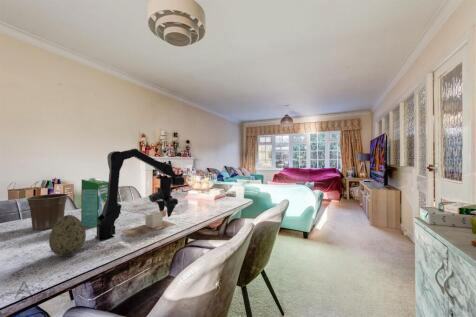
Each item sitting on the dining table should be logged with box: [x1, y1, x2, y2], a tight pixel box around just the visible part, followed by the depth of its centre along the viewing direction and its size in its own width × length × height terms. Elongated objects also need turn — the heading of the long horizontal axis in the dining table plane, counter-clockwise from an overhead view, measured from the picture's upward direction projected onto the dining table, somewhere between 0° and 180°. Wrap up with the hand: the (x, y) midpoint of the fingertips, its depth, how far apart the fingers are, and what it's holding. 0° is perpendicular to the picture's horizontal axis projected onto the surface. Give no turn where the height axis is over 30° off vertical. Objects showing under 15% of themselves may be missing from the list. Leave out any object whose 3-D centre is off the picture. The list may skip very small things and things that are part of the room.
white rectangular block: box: [144, 210, 167, 228], centre depth 114 cm, size 11×6×6 cm, turn 148°
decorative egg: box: [48, 214, 87, 257], centre depth 80 cm, size 11×11×15 cm
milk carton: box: [80, 177, 108, 228], centre depth 117 cm, size 9×9×25 cm
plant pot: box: [26, 193, 69, 231], centre depth 112 cm, size 16×16×16 cm
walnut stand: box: [121, 219, 177, 238], centre depth 109 cm, size 23×12×5 cm, turn 143°
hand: (165, 215), depth 117 cm, fingers open, 9 cm apart
